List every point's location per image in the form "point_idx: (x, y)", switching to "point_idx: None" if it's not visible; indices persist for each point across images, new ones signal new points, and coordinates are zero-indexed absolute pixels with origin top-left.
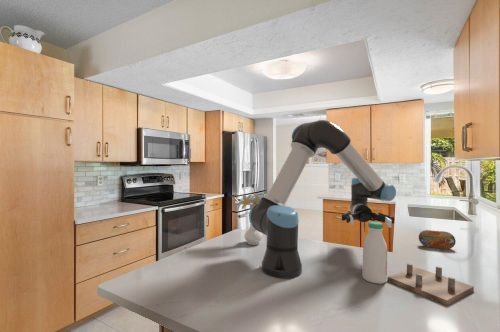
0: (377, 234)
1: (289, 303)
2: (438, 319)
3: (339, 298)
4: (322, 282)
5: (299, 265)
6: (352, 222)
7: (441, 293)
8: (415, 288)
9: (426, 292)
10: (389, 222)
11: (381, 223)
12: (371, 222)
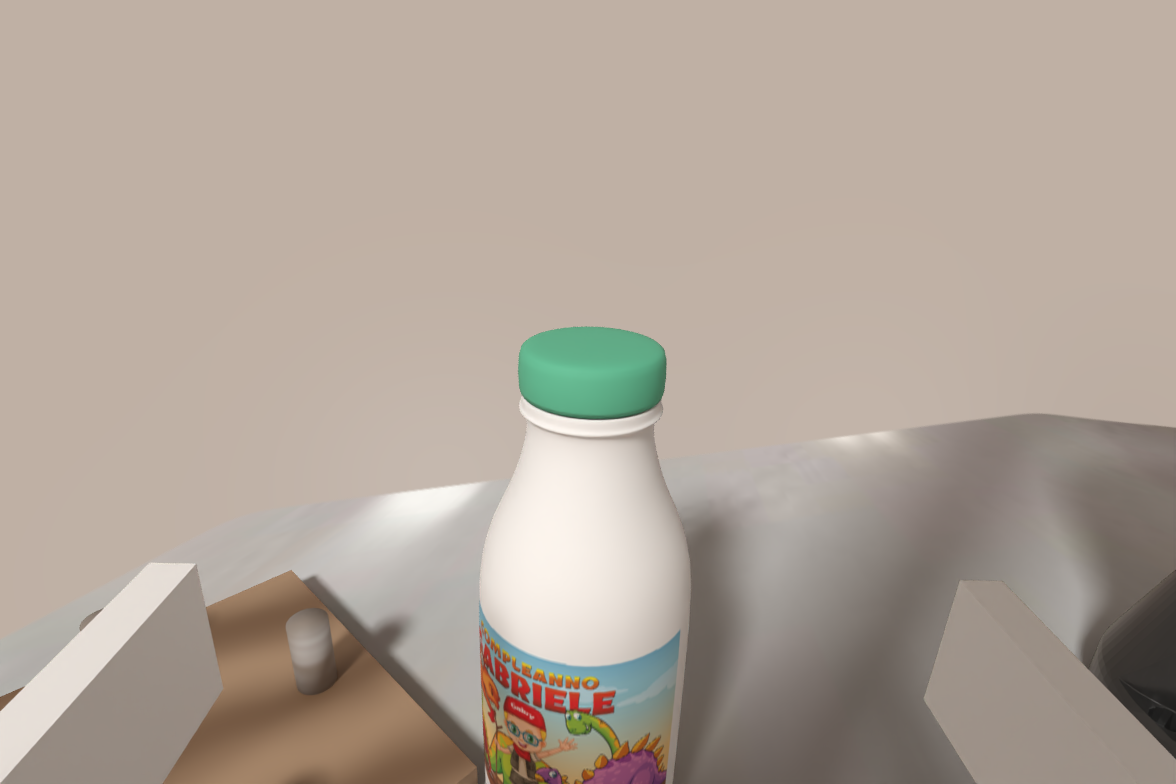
0: (581, 418)
1: (919, 497)
2: (418, 513)
3: (766, 550)
4: (902, 657)
5: (1126, 667)
6: (956, 654)
7: (253, 619)
8: (364, 651)
9: (335, 617)
10: (198, 604)
11: (533, 340)
12: (635, 346)
